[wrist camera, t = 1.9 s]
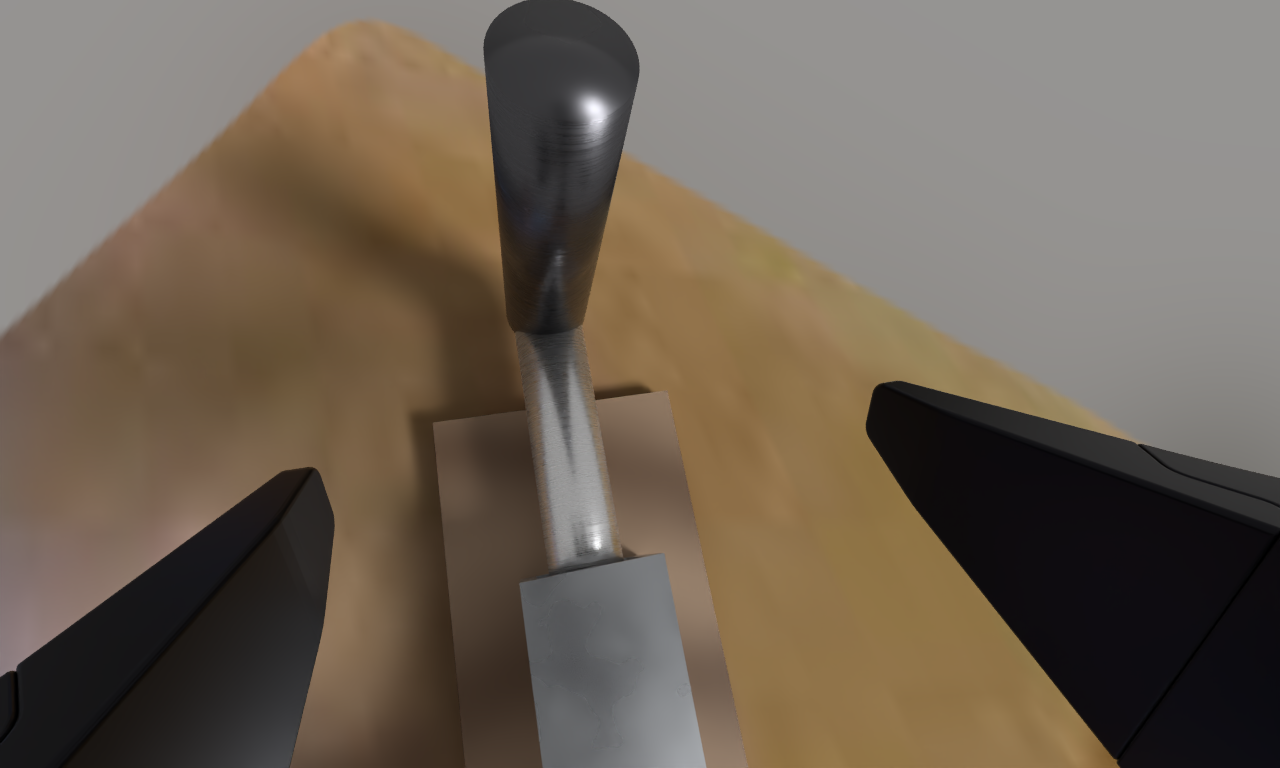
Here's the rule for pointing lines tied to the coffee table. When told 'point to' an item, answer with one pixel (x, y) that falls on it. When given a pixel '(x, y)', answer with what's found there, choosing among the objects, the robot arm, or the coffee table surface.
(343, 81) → the coffee table surface
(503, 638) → the base board
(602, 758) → the grey rectangular block
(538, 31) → the black handled metal tool
